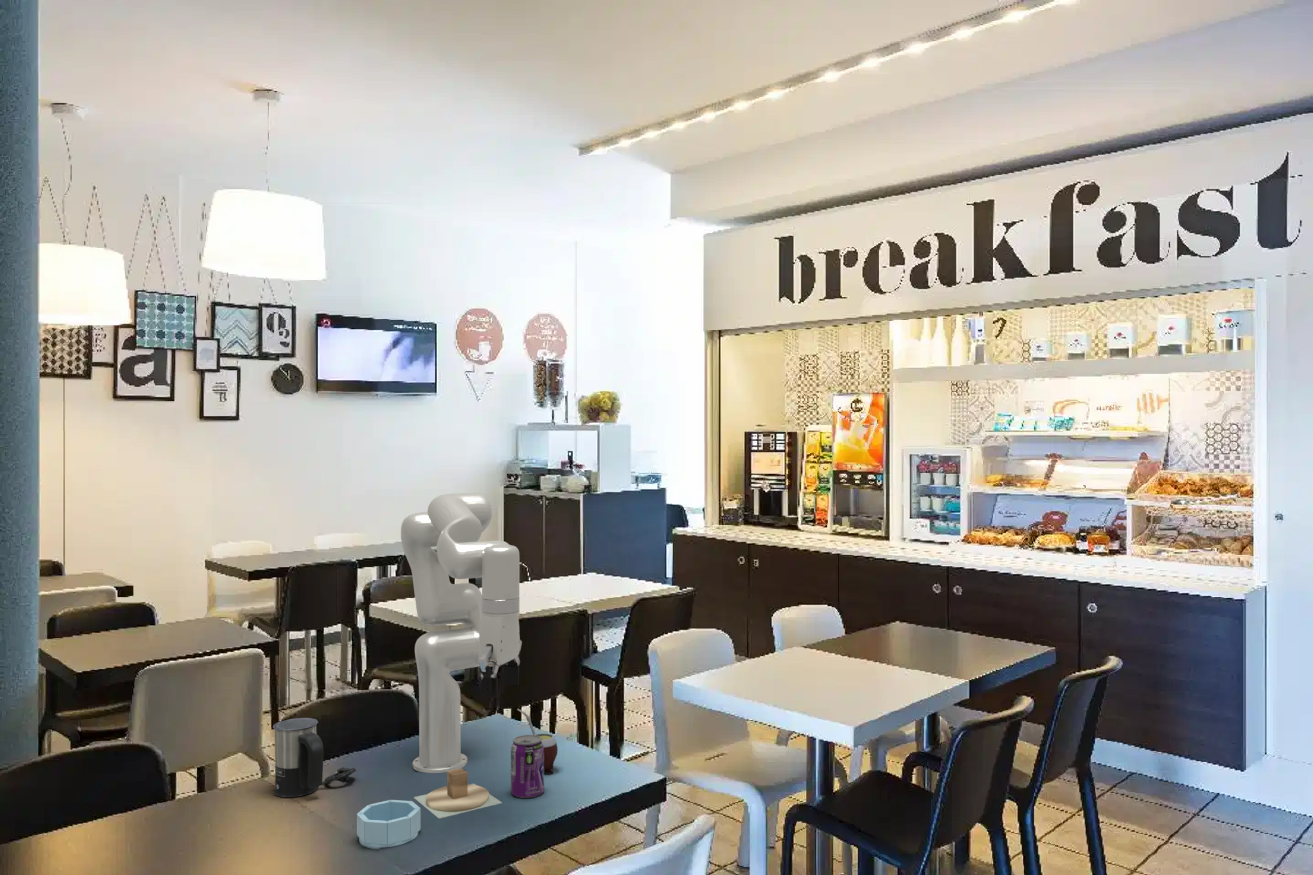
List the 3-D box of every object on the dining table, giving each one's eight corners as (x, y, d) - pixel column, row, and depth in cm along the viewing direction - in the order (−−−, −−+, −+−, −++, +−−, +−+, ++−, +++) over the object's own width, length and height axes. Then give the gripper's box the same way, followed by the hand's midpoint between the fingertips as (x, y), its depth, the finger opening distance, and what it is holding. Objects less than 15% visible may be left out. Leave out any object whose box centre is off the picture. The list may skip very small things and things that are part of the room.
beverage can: (537, 801, 199) (537, 745, 200) (506, 799, 201) (505, 743, 201) (548, 789, 206) (548, 734, 207) (517, 787, 208) (517, 733, 208)
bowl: (351, 834, 183) (351, 808, 183) (406, 820, 190) (406, 796, 190) (370, 854, 174) (370, 827, 174) (427, 839, 181) (426, 813, 181)
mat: (413, 799, 201) (413, 797, 201) (474, 785, 209) (474, 783, 209) (439, 820, 190) (439, 818, 190) (502, 804, 198) (502, 802, 198)
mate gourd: (563, 769, 219) (563, 705, 219) (541, 779, 213) (541, 713, 213) (538, 763, 223) (538, 700, 223) (516, 773, 217) (516, 708, 217)
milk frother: (263, 795, 204) (263, 726, 204) (315, 771, 219) (315, 707, 219) (315, 804, 199) (315, 733, 199) (364, 779, 214) (364, 713, 214)
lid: (416, 797, 201) (416, 769, 201) (473, 784, 209) (473, 757, 209) (440, 816, 191) (440, 787, 191) (499, 802, 198) (498, 773, 198)
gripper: (502, 598, 201) (503, 678, 201) (463, 612, 184) (463, 700, 184) (535, 600, 198) (535, 681, 198) (498, 614, 182) (498, 703, 182)
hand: (500, 690), depth 191 cm, fingers open, 9 cm apart
